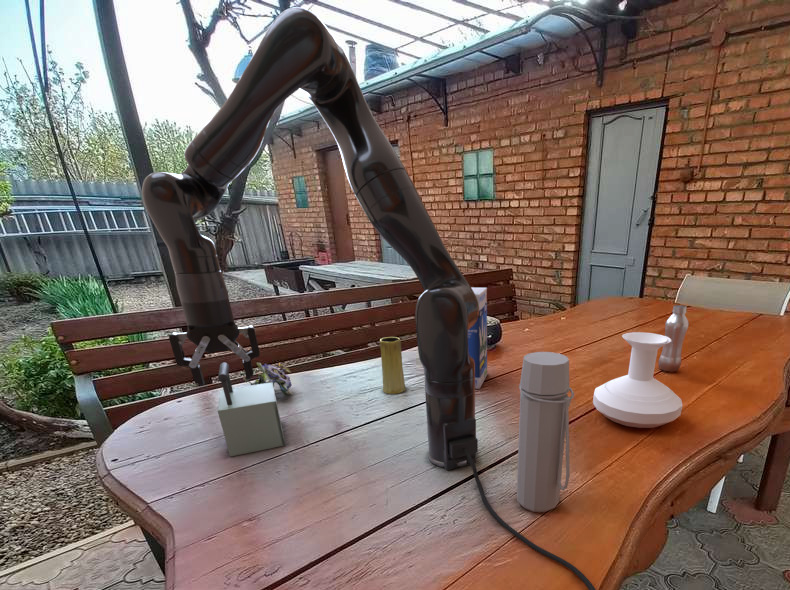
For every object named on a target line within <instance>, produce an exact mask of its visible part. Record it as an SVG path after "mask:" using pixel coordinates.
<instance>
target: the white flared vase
mask: <svg viewBox="0 0 790 590" xmlns="http://www.w3.org/2000/svg"><path fill="white" fill-rule="evenodd" d="M621 337H622V338H623V339H624V341H626V342H627V343H628V344H629V345H630V346H631V350H630V359H629V365H628V373H627V374H626V375H623V376H619V377H616V378H614V379H610V380H609V381H607V382H605V383H603V384H600V385H599V386H596V387H595V389H594V392H593V397H592V398H593V399H592V404H593V406H594V408H595V409H596V410H597V411H598V412H599V413H600V414H602V415H603V416H604V417H605V418H606V419H609V420H610V421H612V422H614V423H617V424H619V425H623V426H626V427H631V428H638V429H643V428H644V429H650V428H651V429H653V428H657V427H660V426H664V425H666V424H669V423H671V422H674V421H675V420H677V419H678V418H679V417H681V416H682V415H681V414H682V410H683V401H682V398H681V397H680V396H678V395H677V394H676V393H675V392H674V391H673V390H672V389H671V388H670V387H669V386H668V385H666V384H664V383H662V381H659V380H658V379H656V378H654V376H655V375H654V374H655V368H656V363H657V357H658V352H659V351H658V350H659V349H661V348H663V346H664V345H666V344H668V343H669V342H671V339H670V338H669V337H667V336H665V335H663V334H659V333H653V332H643V331H632V332H626V333H623V334H622V335H621Z"/></svg>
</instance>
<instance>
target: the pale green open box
mask: <svg viewBox="0 0 790 590" xmlns="http://www.w3.org/2000/svg"><path fill="white" fill-rule="evenodd" d="M229 370H230V365H229V363H227V362H221V363H220V364H219V367H218V374H217V380H218V381H219V382H221V386H222V389H219V397H218V403H217V404H218V405H217V415H218V417H219V422H220V425H221V429H222V432H223V437H224V439H225V443H226V447H227V451H228V455H229V457H236V456H240V455H246V454H250V453H254V452H259V451H260V452H261V451H265V450H269V449H275V448H278V447H284V446H286V441H285V436H284V430H283V425H282V420H281V415H280V410H279V406H278V401H277V397H276V392H275V385H274V386H273V382H271V383H264V384H257V385H251V384H250V385H243V386H237V387H233V385H232V381H231V378H230V374H229V373H230V371H229Z"/></svg>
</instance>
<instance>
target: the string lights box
mask: <svg viewBox="0 0 790 590" xmlns="http://www.w3.org/2000/svg"><path fill="white" fill-rule="evenodd" d="M471 288H472V290H473V291H474V293H475V295H476V297H477V300H478V304H479V315H478V319H477V321H476V323H475V324H474V325H473V326H472V327H471V328H470V329H469V330H468V350H469V356H471V357H472V358H473V359H474V362H475V390H480V389H481V387H482V385H483V383H484V381H485V380H486V377H487V376H488V287H471Z"/></svg>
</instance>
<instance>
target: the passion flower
mask: <svg viewBox="0 0 790 590" xmlns="http://www.w3.org/2000/svg"><path fill="white" fill-rule="evenodd" d="M256 366H257V367H258V368H259V369H260V370H261V372H262V373H259V374H258V375H257V377H258V378H256V379H255V381H254V382H251V381H249V380H247V379H246V375H243V376H242V380H244V382H245V383H249V384H250V385H257V384H264V383H271V382H273V386H274V387H275V384H277V385H278V386H279V389H280V391H281V392H282V394H284V395H285V396H292V395H293V392H292V391H291V388H292V382H291V377H290V376H289V375H286V373H289V374H292V373H293V371H292V370H291V369H290V368H289V367H288V366H287V365H285V363H283V362H279V363H278V367H277V366H274V365H272V364H270V363H269V364H267V363H264V364H262V363H261V362H256Z"/></svg>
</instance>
